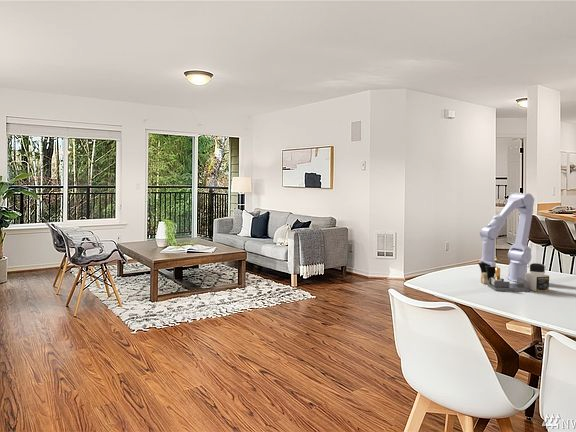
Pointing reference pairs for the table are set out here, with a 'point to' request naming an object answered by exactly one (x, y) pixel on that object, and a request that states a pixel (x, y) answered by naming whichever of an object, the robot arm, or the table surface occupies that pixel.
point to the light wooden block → (484, 278)
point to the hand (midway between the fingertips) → (487, 278)
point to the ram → (496, 276)
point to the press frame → (510, 285)
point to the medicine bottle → (537, 278)
